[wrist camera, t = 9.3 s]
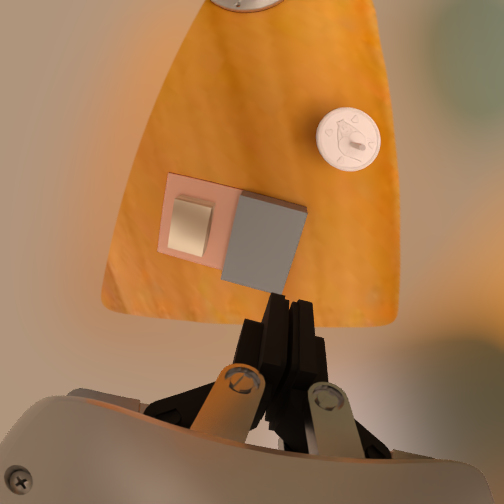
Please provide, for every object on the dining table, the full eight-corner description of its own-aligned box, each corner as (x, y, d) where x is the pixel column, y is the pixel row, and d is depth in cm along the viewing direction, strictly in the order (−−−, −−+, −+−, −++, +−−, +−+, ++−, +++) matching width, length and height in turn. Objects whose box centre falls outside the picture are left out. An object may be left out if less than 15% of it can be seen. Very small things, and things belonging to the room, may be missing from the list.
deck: (243, 190, 40) (239, 195, 37) (306, 207, 39) (307, 213, 37) (225, 269, 44) (220, 279, 42) (281, 284, 44) (281, 295, 42)
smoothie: (325, 169, 37) (343, 192, 24) (300, 125, 35) (306, 124, 23) (368, 148, 35) (407, 160, 22) (344, 103, 33) (373, 91, 21)
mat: (169, 172, 40) (168, 172, 39) (243, 190, 40) (243, 190, 39) (158, 250, 45) (157, 251, 44) (225, 269, 44) (224, 270, 44)
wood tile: (211, 208, 38) (215, 203, 40) (174, 198, 38) (181, 194, 40) (201, 257, 41) (206, 249, 43) (167, 247, 41) (173, 240, 43)
